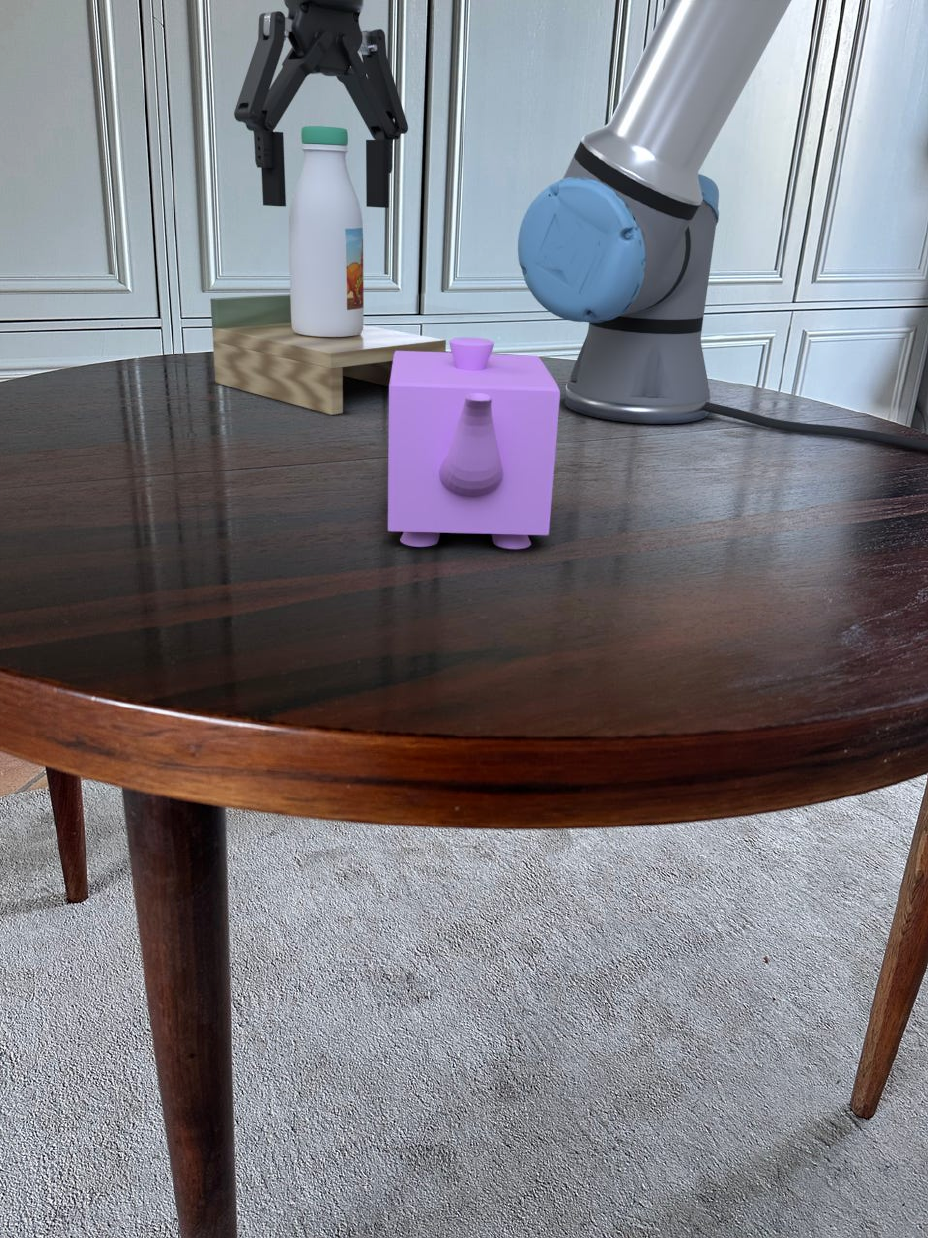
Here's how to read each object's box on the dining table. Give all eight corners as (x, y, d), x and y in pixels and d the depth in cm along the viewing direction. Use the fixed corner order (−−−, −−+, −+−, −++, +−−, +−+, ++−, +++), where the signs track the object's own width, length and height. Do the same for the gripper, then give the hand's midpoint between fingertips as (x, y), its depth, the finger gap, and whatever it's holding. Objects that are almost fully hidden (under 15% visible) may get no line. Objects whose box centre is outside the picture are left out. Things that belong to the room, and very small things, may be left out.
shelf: (444, 396, 109) (447, 310, 105) (331, 415, 98) (330, 320, 94) (326, 368, 121) (325, 291, 117) (215, 382, 110) (210, 298, 106)
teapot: (393, 488, 75) (395, 318, 70) (525, 492, 76) (536, 323, 71) (384, 588, 57) (386, 368, 52) (558, 592, 58) (576, 374, 53)
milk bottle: (328, 340, 102) (324, 124, 94) (276, 332, 106) (268, 123, 98) (378, 334, 108) (379, 129, 100) (327, 326, 112) (324, 129, 104)
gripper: (392, -13, 104) (392, 206, 112) (185, -59, 87) (202, 203, 95) (444, -21, 99) (439, 208, 108) (235, -70, 82) (249, 206, 91)
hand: (328, 206), depth 102 cm, fingers open, 13 cm apart
